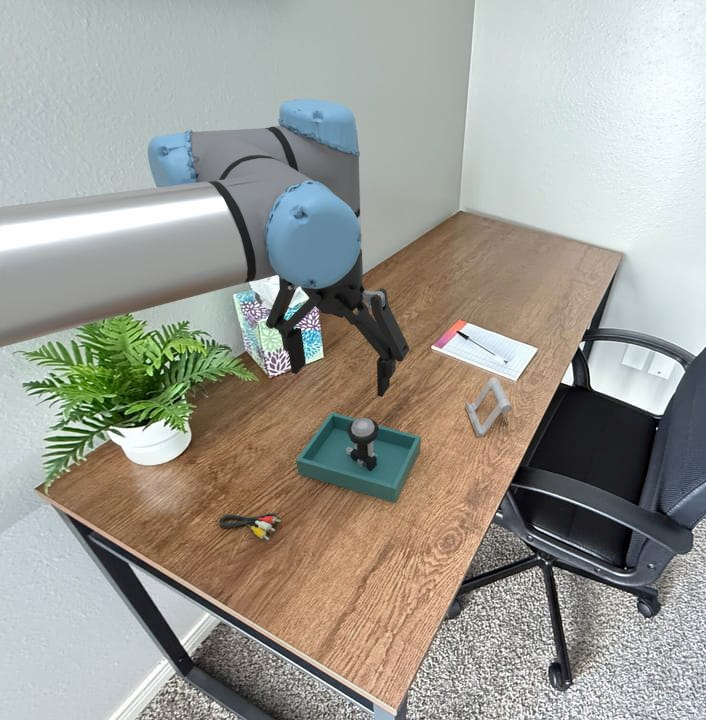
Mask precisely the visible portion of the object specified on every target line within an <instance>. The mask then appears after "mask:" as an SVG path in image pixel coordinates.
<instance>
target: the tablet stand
mask: <svg viewBox="0 0 706 720" xmlns="http://www.w3.org/2000/svg"><path fill="white" fill-rule="evenodd" d="M490 391H491V392H492V394H493V397H494V399H495V402H496V406H495V407H494V408H493V410H492V411H491V413H490V414H489V416H488V417H487V418H486V420H485V421H484V423H483V424H481V421H480V420H479V417H478V415H477V413H476V411H477V410H478V409H479V407H480V406H481V404H482V402H483V401H484V399H485V398H486V397H487V395H488V394H489V392H490ZM464 408H465V411H466V413H467V415H468V418H469V421H470V423H471V425H472V429H473V431H474V433H475V436H476V438H477V437H478V438H482V437H484V436H485V435H486V433H487V432H488V431H489V429H490V428H491V427H492V425H493V424H494V423H495V421H496V420H497V419H498V417H499V415H500V414H501V415H502V418H503V419H504V420H503V421H504V423H505V424H506V426H508V421H507V419H506V416H505V414H507V413H509V412H510V411H512V408H513V407H512V405H511V402H510V400H509V398H508V396H507V394H506V392H505V390H504V388H503V386H502V385H501V383H500V380H499V378H498V377H497V376H492V377H490V378H489V379H488V380H487V382H486V383H485V385H484V386H483V388H482V389H481V391H480V392H479V394H478V395H477V397H476V398H475V399H474V401H473V402H472V403H471V404H470V403H469V402H468V401H465V403H464Z"/></svg>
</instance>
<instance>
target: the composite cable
mask: <svg viewBox="0 0 706 720" xmlns="http://www.w3.org/2000/svg"><path fill="white" fill-rule="evenodd" d="M230 520H235V521H233V522H232V521H231V522H227V521H230ZM281 522H282V520H281V519H280V518H279V515H278V514H276V513H275V512H269V513H265V514H260V515H257V516H250V517H249V516H244V515H242V516H241V515H238V514H224V515H223V516H221V517H220V518H219V520H218V524H219V526H220V527H221V528H223V529H231V528H235V527H238V526H239V527H240V526H248V527H249V528H250V530H252V531H253V534H254V535H255V536H257V538H259V539H260V540H264V539H265V540H266V541H269V540H270V537H268V534H269V535H274V533H275V531H276V528H273V527H274V526H275V525H277V524H278V523H281Z"/></svg>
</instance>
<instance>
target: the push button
mask: <svg viewBox="0 0 706 720" xmlns="http://www.w3.org/2000/svg"><path fill="white" fill-rule="evenodd" d="M355 419H356V420H354V421H353V422H351V423H350V424H349V426H348V428H347V433H348V436H349V437H350V439H351V441H352V442H353V443H355V446H354V449H352V448H350V447H348V448H347V449H346V450H347V452H346V453H347V454H349V455H350V456H351V458H352V459H353V460H354V461H356V462H357V464H358V466H360V465H361V466H360V467H363V465H364V466H366V467H367V469H368V470H369V471H372V470H373V468H374V467H375V466H376V465H377V464H378V455H377V454H375V451H374V447H373V441H374V440H375V439H376V437H377V434H378V431H379V427H378V425H379V424H378V422H377V421H376V420H374V419H372V418H369V417H359V418H355ZM373 431H374V432H373ZM352 432H353V434H352ZM348 449H350V450H348ZM349 452H350V453H349ZM359 464H360V465H359Z"/></svg>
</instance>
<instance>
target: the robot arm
mask: <svg viewBox="0 0 706 720" xmlns="http://www.w3.org/2000/svg"><path fill="white" fill-rule="evenodd" d="M278 109H279V111H278V112H279V113H278V114H279V115H278V124H279V125H275V126H269V127H265V128H264V127H263V128H244V129H243V128H242V129H224V130H223V129H221V130H204V131H203V130H202V131H193V130H192V129H187V130H185V131H183V132H175V133H169V134H162V135H161V134H160V135H155V136H154V137H153V138H151V139H150V140H149V143H148V146H147V160H148V164H149V168H150V172H151V175H152V178H153V179H152V180H153V182H154V184H155V187H150V188H142V189H135V190H127V191H126V190H125V191H118V192H109V193H102V194H94V195H86V196H77V197H69V198H64V199H63V198H62V199H61V198H60V199H54V200H46V201H37V202H29V203H22V204H14V205H5V206H0V348H4V347H7V346H11V345H15V344H18V343H23V342H27V341H30V340H33V339H37V338H42V337H45V336H49V335H53V334H57V333H61V332H65V331H69V330H72V329H76V328H79V327H83V326H87V325H92V324H94V323H98V322H102V321H106V320H111V319H114V318H117V317H121V316H124V315H125V316H126V315H128V314H132V313H136V312H139V311H144V310H147V309H151V308H155V307H158V306H162V305H166V304H171V303H174V302H178V301H182V300H186V299H189V298H193V297H197V296H201V295H204V294H208V293H212V292H216V291H219V290H220V291H221V290H224V289H227V288H231V287H235V286H238V285H242V284H243V285H244V284H247V283H250V282H256V281H262V280H264V279H267V278H272V277H275V276H278V282H279V283H278V285H279V286H278V287H279V289H278V292H277V295H276V297H275V299H274V302H273V303H272V306H271V309H270V311H269V314H268V316H267V319H266V321H265V326H266V327H267V328H268V329H270V330H273V329H274V330H277V332H278V334H279V335H280V336H281V341H282V347H283V350H284V351H285V352H287V353H288V359H289V366H290V371H291V373H292V374H294V375H297V374H298V373H299V372H300V371H301V370H302V369H303V368H304V367H305V365H307V360H306V353H305V347H304V338H303V331H302V328H300V327H296V326H297V325H298V324H299V323H300V322H301V321H302V320H303V319H305V317H306V316H307V315H308V314H310V312H311V311H312V310H314V309H315V308H316V309H317V310H319V311H320V313H321V314H325V315H333V316H335V317H336V318H341V319H343V318H345V319H346V320H347V322H348V323H349V324H350V325H351V326H354V327H355V328H356V329H357V330H358V331H359V332H360V334H361V335H362V337H364V338H365V340H366V341H367V343H369V344H370V346H371V347H372V349H374V351H375V352H376V353H377V355H378V358H377V360H376V379H377V380H376V381H377V383H376V385H377V387H376V388H377V396H378V397H381V398H383V397H384V395H385V394H386V392H387V391H388V389H389V388H390V386H391V384H390V383H391V378H392V377H393V375H394V373H395V372H396V370H397V369H396V367H397V362H403V361H404V359H405V357H406V356H407V355H408V353H409V351H410V346H409V344H408V342H407V340H406V338H405V336H404V334H403V332H402V330H401V328H400V326H399V324H398V322H397V319H396V316H395V315H394V313H393V311H392V309H391V307H390V305H389V300H388V292H387V290H386V289H385V288H382V287H381V288H379V289H378V290H377V291H374V290H368V289H366V287H365V286H364V284H363V276H364V268H363V250H362V222H361V221H362V220H361V219H362V218H361V189H360V188H361V187H360V185H361V184H360V156H361V152H360V146H359V138H358V129H357V121H356V117H355V115H354V113H353V112H352V111H351V110H350V109H349V108H348V107H346V106H344V105H342V104H340V103H337V102H333V101H328V100H323V99H312V98H311V99H310V98H297V99H293V100H285V101H284V102H282V103H281V104H280V107H279V108H278ZM299 287H301V289H302V291H303V293H305V295H306V297H308V299H307V300H306V301H305V302H304V303H303V304H302V305H301V306H300V307H299V308H298V309H297V310H296V311H295V312H294V313H293V314H292V315H291V316H290V317H289V318H288V319H286V318H285V316H286V314H287V311H288V309H289V307H290V305H291V303H292V300H293V298H294V296H295V293H296V291H297V289H298V288H299ZM365 302H366V303H367V304H366V303H365ZM354 310H357V312H356V313H355V312H354ZM370 310H371V313H372V315H371V313H370Z"/></svg>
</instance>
